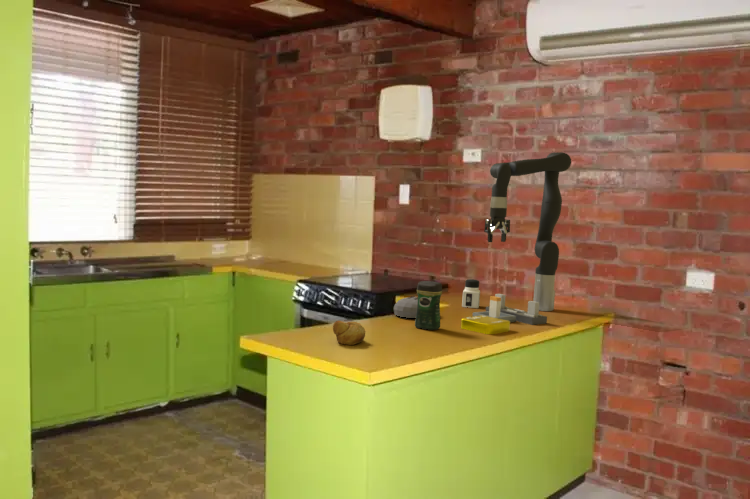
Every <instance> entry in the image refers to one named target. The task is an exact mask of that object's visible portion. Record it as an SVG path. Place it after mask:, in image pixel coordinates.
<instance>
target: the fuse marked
mask: <svg viewBox="0 0 750 499" xmlns="http://www.w3.org/2000/svg"><path fill="white" fill-rule="evenodd" d="M489 306H490V308H489V316H491V317H500V307H501V297H496V296H495V295H492V296H491V295H490V297H489Z"/></svg>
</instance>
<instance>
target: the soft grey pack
mask: <svg viewBox="0 0 750 499" xmlns="http://www.w3.org/2000/svg"><path fill="white" fill-rule="evenodd" d="M417 305H418V296H416V295H413V296H409V297H403V298H401V299H399V300H398V301H396V303H395V304H394V306H393V313H394V314H393V315H394V316H395V315H397V316H400V317H399V318H401V317H406V318H405V319H407V318H416V313H417ZM397 316H396V317H397Z"/></svg>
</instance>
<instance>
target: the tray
mask: <svg viewBox="0 0 750 499" xmlns="http://www.w3.org/2000/svg"><path fill="white" fill-rule="evenodd" d="M480 315H483V316H488V317H491V316H489V311H486V310H485V311H475V312H472V316H471V317H473V316H480ZM493 318H498V319H503V320H508V321H510V323H516V322H517V321H516V316H514V315H510V314H506V313H501V312H500V317H493Z"/></svg>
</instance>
